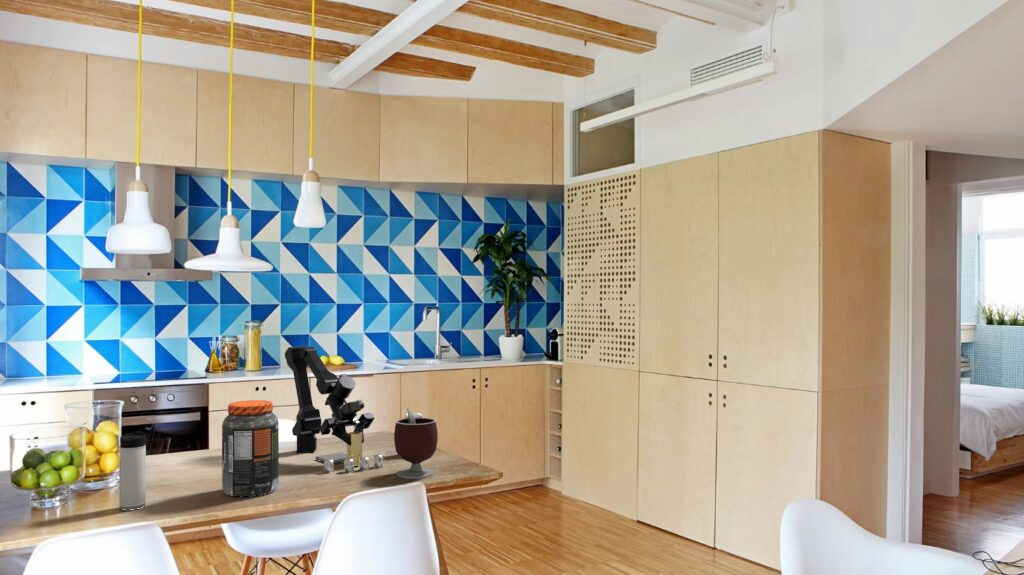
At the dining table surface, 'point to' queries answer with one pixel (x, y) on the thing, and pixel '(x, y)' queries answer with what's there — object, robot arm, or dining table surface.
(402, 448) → the mate gourd
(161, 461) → the dining table surface
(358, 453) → the tan faceted block
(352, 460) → the cylinder
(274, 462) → the supplement tub
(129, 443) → the travel mug
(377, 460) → the cylinder
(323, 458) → the coaster
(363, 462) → the cylinder
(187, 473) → the dining table surface
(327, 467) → the cylinder
